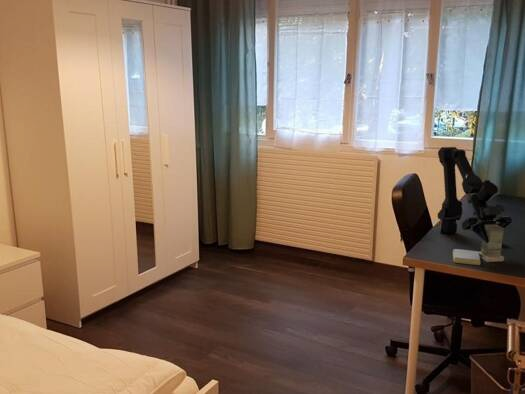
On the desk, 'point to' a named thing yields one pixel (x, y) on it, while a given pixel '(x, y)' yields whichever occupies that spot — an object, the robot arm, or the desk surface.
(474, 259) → the plate
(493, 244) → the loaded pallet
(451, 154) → the robot arm
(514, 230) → the desk surface
